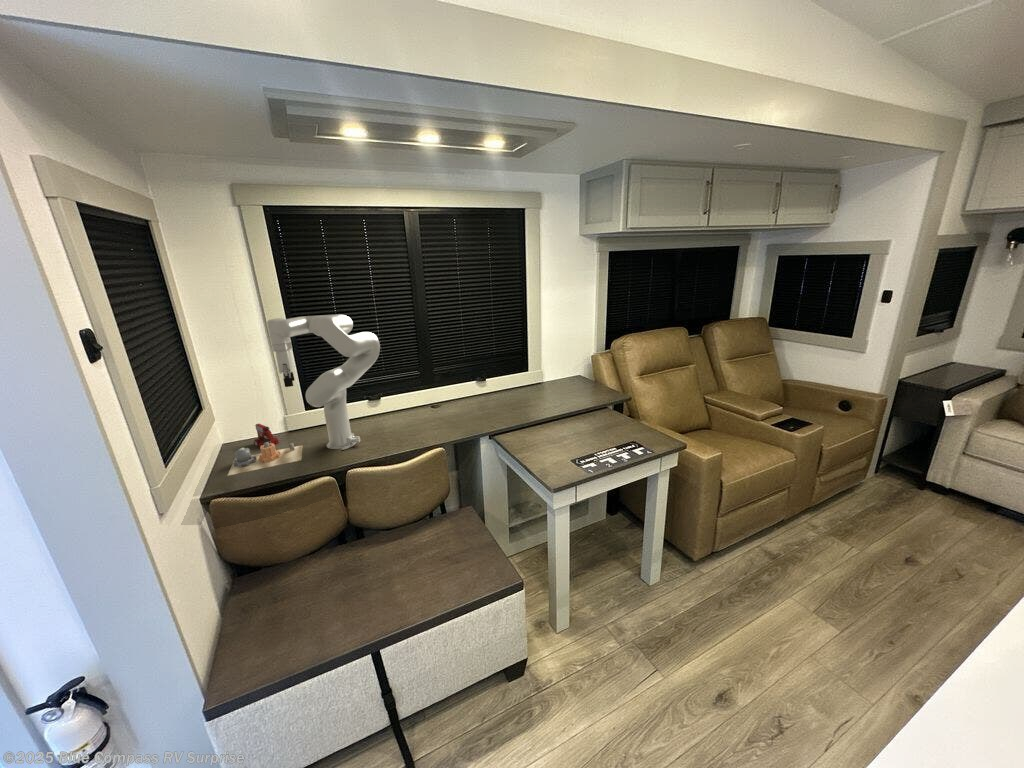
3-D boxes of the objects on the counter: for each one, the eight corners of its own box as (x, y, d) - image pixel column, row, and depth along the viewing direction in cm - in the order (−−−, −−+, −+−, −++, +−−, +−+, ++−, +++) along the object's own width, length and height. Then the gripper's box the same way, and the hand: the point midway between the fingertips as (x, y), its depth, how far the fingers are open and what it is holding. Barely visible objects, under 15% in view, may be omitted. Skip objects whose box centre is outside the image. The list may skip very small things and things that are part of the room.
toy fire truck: (266, 452, 172) (261, 431, 169) (253, 446, 179) (247, 425, 176) (282, 446, 178) (277, 425, 175) (268, 440, 184) (264, 420, 181)
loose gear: (260, 456, 166) (257, 444, 165) (281, 452, 169) (278, 440, 168) (258, 463, 160) (255, 451, 158) (279, 459, 163) (276, 447, 161)
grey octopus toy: (257, 456, 166) (253, 442, 164) (254, 464, 159) (251, 450, 157) (236, 461, 163) (232, 447, 161) (232, 469, 156) (228, 454, 154)
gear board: (303, 447, 176) (299, 431, 173) (301, 462, 162) (298, 445, 160) (235, 461, 165) (230, 443, 163) (228, 478, 151) (222, 459, 149)
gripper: (274, 344, 176) (282, 380, 181) (270, 351, 161) (278, 390, 166) (292, 342, 179) (300, 377, 184) (290, 349, 164) (298, 387, 169)
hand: (290, 383), depth 175 cm, fingers open, 9 cm apart
